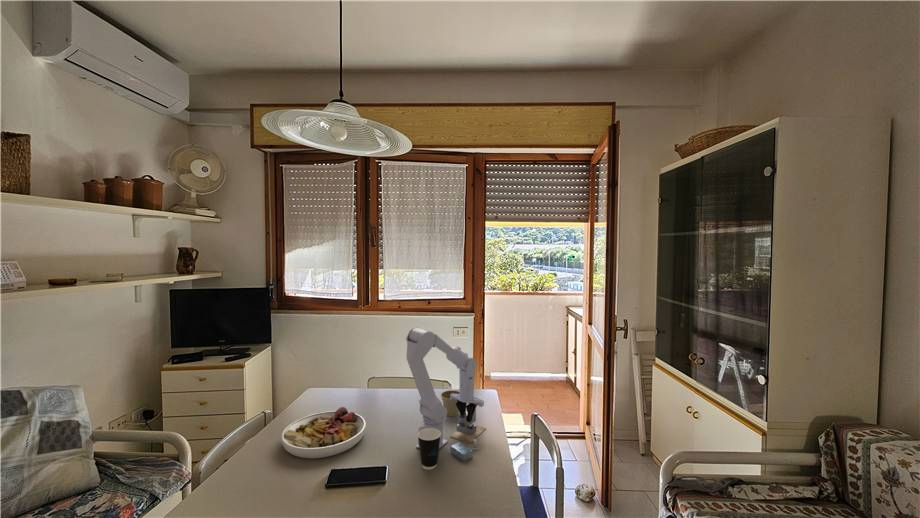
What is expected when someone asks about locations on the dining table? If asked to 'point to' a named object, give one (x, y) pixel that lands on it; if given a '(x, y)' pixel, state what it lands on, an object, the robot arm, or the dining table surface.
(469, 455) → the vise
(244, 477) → the dining table surface
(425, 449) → the dixie cup
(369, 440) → the dining table surface
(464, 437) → the plate
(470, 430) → the uneven u-shaped block
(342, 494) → the dining table surface
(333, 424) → the bowl
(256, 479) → the dining table surface
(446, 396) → the flower pot
